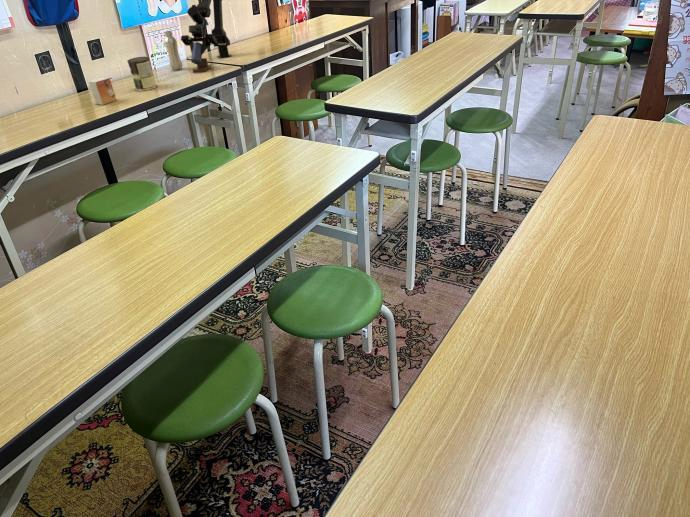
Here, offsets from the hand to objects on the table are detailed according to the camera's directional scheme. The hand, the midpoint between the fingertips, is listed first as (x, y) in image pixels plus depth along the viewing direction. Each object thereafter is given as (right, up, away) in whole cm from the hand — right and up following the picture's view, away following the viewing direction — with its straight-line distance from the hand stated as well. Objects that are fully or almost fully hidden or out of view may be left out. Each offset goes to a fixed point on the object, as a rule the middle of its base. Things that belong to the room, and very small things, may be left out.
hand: (197, 53), depth 278 cm
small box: (-34, -36, -33) cm, 59 cm away
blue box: (0, 0, 0) cm, 0 cm away
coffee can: (-21, -24, -16) cm, 36 cm away
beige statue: (-15, -4, +13) cm, 20 cm away
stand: (+1, -7, +6) cm, 9 cm away
